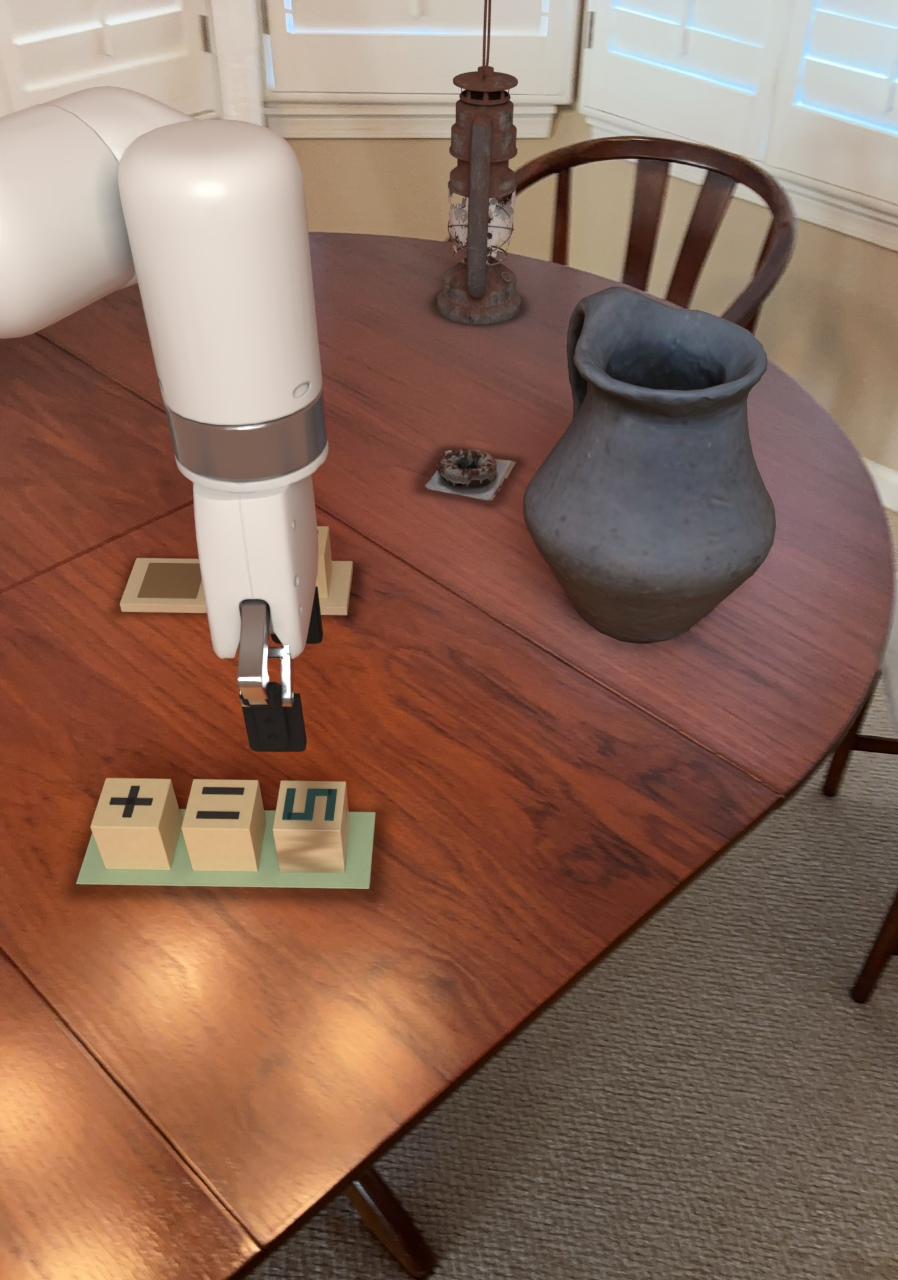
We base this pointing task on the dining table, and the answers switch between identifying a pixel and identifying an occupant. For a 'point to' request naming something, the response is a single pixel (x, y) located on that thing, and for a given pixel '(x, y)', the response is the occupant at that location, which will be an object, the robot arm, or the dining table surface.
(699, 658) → the dining table surface
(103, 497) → the dining table surface
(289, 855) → the cream block
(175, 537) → the dining table surface
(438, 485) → the donut
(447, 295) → the lantern
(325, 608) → the mat
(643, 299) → the pitcher
